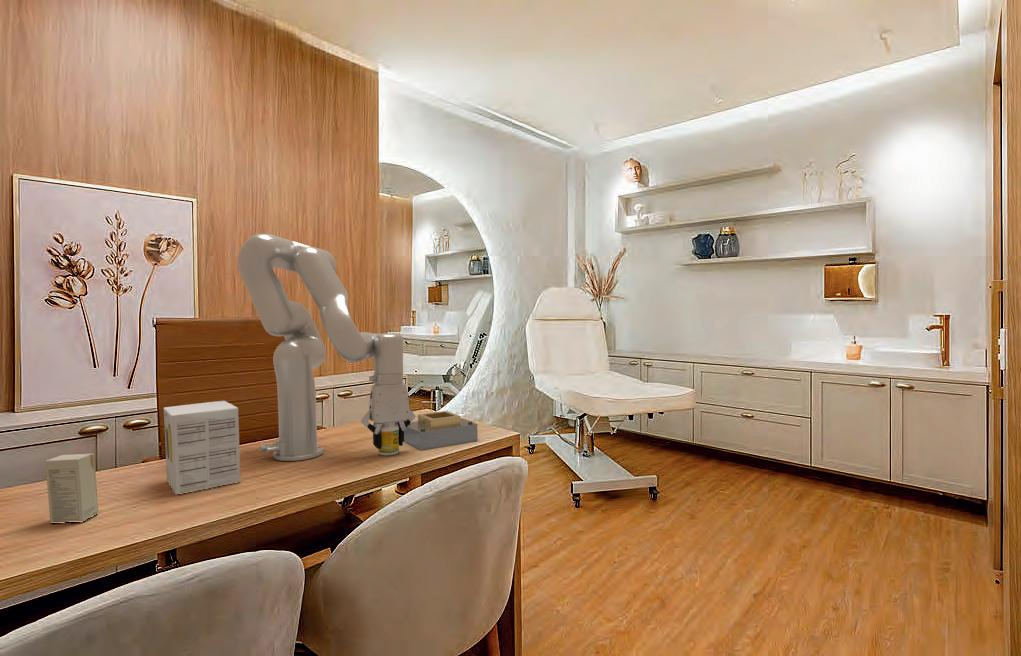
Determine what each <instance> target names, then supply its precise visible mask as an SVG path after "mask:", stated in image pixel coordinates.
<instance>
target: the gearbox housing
mask: <svg viewBox="0 0 1021 656" xmlns="http://www.w3.org/2000/svg"><path fill="white" fill-rule="evenodd" d="M477 440H479V438H478V423H476V422H473V421H472V420H468V419H465V418H463V417H461V415H459V414H456V413H453V412H451V411H448V410H442V411H435V412H428V413H419V414H417V420H416V421H411V422H410V424H409V425H408V426H407V427H406V430H405V431H404V443H407V444H408V445H411V446H412V447H414V448H416V449H418V450H419V451H424V450H431V449H436V448H443V447H448V446H453V445H454V444H455V445H459V444H465V443H471V442H472V443H473V442H476V441H477ZM477 442H478V441H477Z"/></svg>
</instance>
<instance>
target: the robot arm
mask: <svg viewBox="0 0 1021 656" xmlns="http://www.w3.org/2000/svg"><path fill="white" fill-rule="evenodd" d="M237 267H238V272H239V275H240V277H241V280H242V282H243V285H244V286H245V288H246V290H247V292H248V294H249V296H250V299H251V301H252V304H253V306H254V308H255V311H256V314H257V315H258V318H259V319H260V322H261V325H262V327H263V328H264V330H265V332H266V333H267V334H269V335H271V336H274V337H284V340H283V341H282V342H280V343H279V344H278V345H277V346H276V348H275V350H274V352H273V358H272V359H273V360H272V361H273V362H272V363H273V367H274V368H273V370H274V374H275V379H276V389H277V414H278V438H276V441H273V442H272V443H267V444H265V443H264V444H260V446H259V451H260V453H273V459H275V460H277V461H282V462H283V461H285V462H295V461H304V460H308V459H313V458H316V457H319V456H320V455H323V453H324V448H323V446H320V445H318V429H317V428H318V425H317V397H316V396H317V395H316V383H315V377H314V373H313V370H314V369H317V368H319V367H320V366H321V365H322V364H323V362H324V361H325V358H326V354H327V353H326V346H325V344H324V342H323V339H322V337H321V334H320V333H319V329H317V326H316V324H315V321H314V319H313V317H312V314H311V312H310V311H309V309H307V308H306V306H304V305H303V304H301V303H299V302H296V301H291V300H290V299H289V297H288V295H287V293H286V291H285V288H284V286H283V283H282V281H281V280H280V279H279V277H278V276H277V274H276V272H275V270H274V268H276V269H280V270H281V269H282V270H285V271H289V272H292V273H296V274H297V275H298V276H299V278H300V279H301V281H302V282H303V284H304V286H305V288H306V289H307V291H308V292H309V294H310V296H311V298H312V299H313V302H314V303H315V304H316V306H317V308H318V311H319V316H320V319H321V323H322V326H323V329H324V331H325V333H326V335H327V337H328V339H329V341H330V342H331V344H332V346H333V347H334V349H335V351H336V352H337V353H338V356H340V357H341V358H342V359H343V360H344V361H346V362H349V363H358V362H363V361H366V360H370V359H373V361H374V364H373V365H374V366H373V367H374V369H373V372H374V373H373V375H370V376H369V377H368V378H369V379H368V380H369V382H373V384H372V385H371V387H370V388H371V389H370V394H369V401H368V403H369V404H368V411H367V412H366V413H365V414H364V416H363V417H362V418H361V420H360V423H361V424H362V425H363V426H365V427H366V428H367V429H368V430H370V432H371V433H372V443H373V444H372V445H373V446H374V447H375V449H377V450H379V449H380V448H381V434H380V433H379V431H380V428H381V425H382V424H384V423H393V422H396V423H397V425H398V427H399V447H402V446H403V443H405V441H404V431H405V430H406V427H407V426H408V425H409V424H410V422H413V420H415V419H416V417H417V416H416V414H415V413H414V412H413V411H412V410H411V409H410V401H409V393H408V386H407V384H406V383H404V338H403V336H402V334H399V333H393V332H392V333H391V332H388V333H387V332H386V333H384V332H383V333H374V332H368V331H367V332H366V331H361V332H360V331H359V329H358V328H357V326H356V325H355V322H354V321H353V319H352V316H351V315H350V312H349V307H348V302H349V294H348V291H347V290H346V288H345V286H344V284H343V283H342V281H341V280H340V278H339V276H338V275H337V272H336V271H337V268H338V267H337V261H336V259H335V256H333V254H332V253H330V252H329V251H327V250H326V249H323V248H318V247H313V246H310V245H308V244H307V245H306V244H304V243H301V242H297V241H294V240H291V239H287V238H285V237H281V236H279V235H274V234H270V233H257V234H254V235H252V236H250V237H248V238H247V239H246V240H245V241H244V243H243V244H242V246H241V247H240V250H239V251H238V255H237ZM370 421H372V422H373V423H371V422H370Z"/></svg>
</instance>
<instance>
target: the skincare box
mask: <svg viewBox="0 0 1021 656" xmlns="http://www.w3.org/2000/svg"><path fill="white" fill-rule="evenodd" d="M44 464H45V471H46V472H45V475H46V485H47V496H48V497H47V498H48V509H49V520H50V522H69V521H84V520H86V519H88V518H89V517H91V516H93V515H95V514H97V513H100V511H99V501H98V490H97V489H98V487H97V475H96V473H97V472H96V462H95V453H94V452H93V453H79V454H78V453H75V454H73V453H72V454H71V453H70V454H61V455H58V456H55V457H53V458H52V457H51V458H49V459H47V460H45V461H44ZM88 520H89V519H88ZM86 521H87V520H86Z"/></svg>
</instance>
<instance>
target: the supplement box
mask: <svg viewBox="0 0 1021 656" xmlns="http://www.w3.org/2000/svg"><path fill="white" fill-rule="evenodd" d="M163 421H164V423H163V424H164V443H165V444H164V445H165V446H164V447H165V463H166V465H165V466H166V467H165V468H166V482H167V481H168V482H167V483H169V484H170V485H169V484H168V485H169V487H170V486H171V487H170V488H172V489H173V490H172V489H171V490H172V492H173V491H174V492H173V494H174V493H175V494H180V493H185V492H190V491H196V490H201V489H206V488H211V487H216V486H221V485H226V484H230V483H235V482H240V483H241V459H240V458H241V457H240V424H239V422H240V421H239V407H237V406H235V405H234V404H232V403H229V402H228V401H226V400H217V401H207V402H201V403H198V402H197V403H190V404H181V405H175V406H174V405H172V406H166V407H163ZM221 487H222V486H221ZM216 488H217V487H216ZM211 489H212V488H211ZM206 490H207V489H206ZM201 491H202V490H201ZM175 494H174V495H175Z"/></svg>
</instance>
